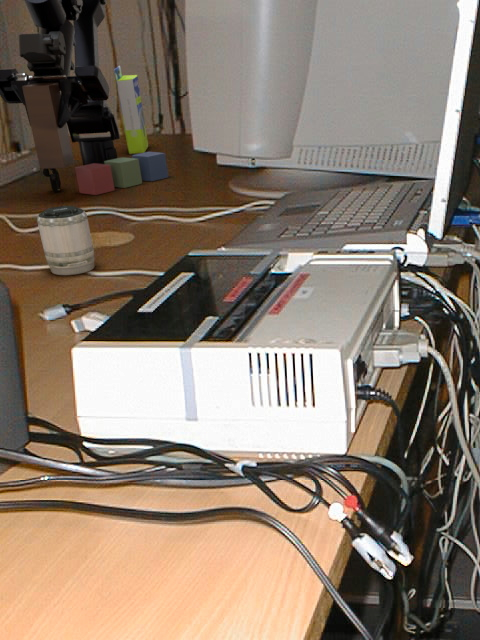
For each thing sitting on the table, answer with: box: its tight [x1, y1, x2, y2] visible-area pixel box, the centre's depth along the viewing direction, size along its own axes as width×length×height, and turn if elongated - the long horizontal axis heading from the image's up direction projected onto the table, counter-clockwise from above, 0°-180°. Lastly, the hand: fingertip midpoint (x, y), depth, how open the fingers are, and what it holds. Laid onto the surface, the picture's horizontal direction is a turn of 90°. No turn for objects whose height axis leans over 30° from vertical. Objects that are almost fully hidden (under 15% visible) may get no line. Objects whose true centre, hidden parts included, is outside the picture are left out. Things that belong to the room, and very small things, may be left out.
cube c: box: [74, 163, 115, 196], centre depth 166 cm, size 4×4×4 cm
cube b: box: [104, 156, 143, 189], centre depth 171 cm, size 4×4×4 cm
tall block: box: [22, 83, 75, 170], centre depth 155 cm, size 5×4×13 cm
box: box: [113, 65, 149, 155], centre depth 203 cm, size 10×4×17 cm, turn 8°
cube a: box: [131, 151, 170, 182], centre depth 175 cm, size 4×4×4 cm
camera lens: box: [36, 205, 96, 276], centre depth 119 cm, size 6×6×8 cm
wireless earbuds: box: [42, 168, 62, 193], centre depth 167 cm, size 7×2×5 cm, turn 15°
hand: (45, 126), depth 154 cm, fingers closed on tall block, 4 cm apart
